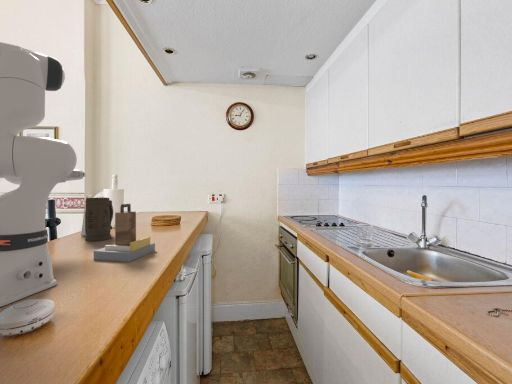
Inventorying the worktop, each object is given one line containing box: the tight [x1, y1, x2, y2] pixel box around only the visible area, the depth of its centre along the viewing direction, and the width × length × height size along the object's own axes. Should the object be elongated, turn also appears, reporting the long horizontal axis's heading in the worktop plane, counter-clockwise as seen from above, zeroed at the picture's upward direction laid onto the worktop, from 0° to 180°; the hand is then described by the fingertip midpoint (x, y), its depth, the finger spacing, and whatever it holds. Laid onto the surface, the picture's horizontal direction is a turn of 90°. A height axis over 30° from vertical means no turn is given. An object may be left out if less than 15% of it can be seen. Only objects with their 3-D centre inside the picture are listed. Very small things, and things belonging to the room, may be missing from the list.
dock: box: [93, 236, 156, 263], centre depth 106 cm, size 14×16×6 cm
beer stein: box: [84, 197, 114, 242], centre depth 136 cm, size 15×11×20 cm
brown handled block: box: [114, 203, 137, 246], centre depth 105 cm, size 5×5×16 cm
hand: (74, 174), depth 109 cm, fingers open, 8 cm apart
